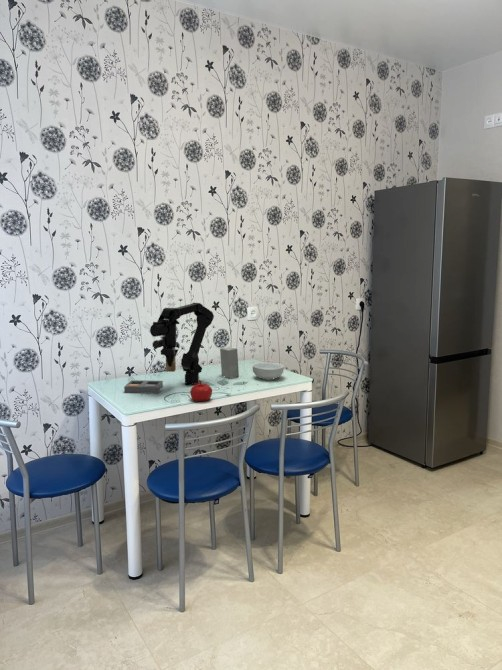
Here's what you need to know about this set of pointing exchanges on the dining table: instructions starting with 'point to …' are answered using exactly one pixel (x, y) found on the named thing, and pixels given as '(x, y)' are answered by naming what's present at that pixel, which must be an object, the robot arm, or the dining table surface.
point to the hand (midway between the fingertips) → (170, 365)
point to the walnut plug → (173, 366)
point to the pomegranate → (201, 392)
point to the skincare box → (229, 362)
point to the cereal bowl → (268, 370)
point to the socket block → (143, 386)
